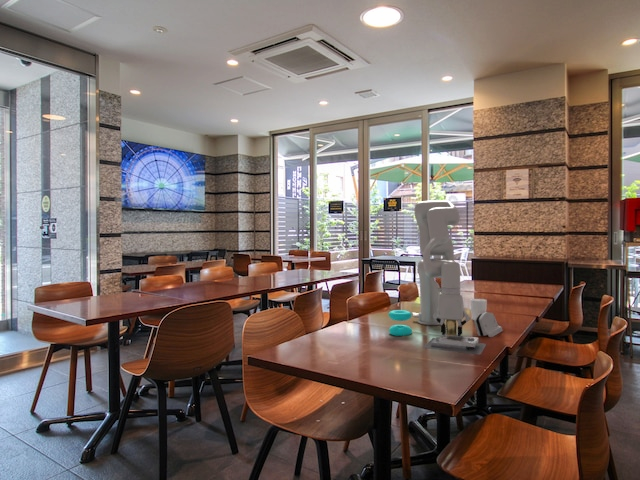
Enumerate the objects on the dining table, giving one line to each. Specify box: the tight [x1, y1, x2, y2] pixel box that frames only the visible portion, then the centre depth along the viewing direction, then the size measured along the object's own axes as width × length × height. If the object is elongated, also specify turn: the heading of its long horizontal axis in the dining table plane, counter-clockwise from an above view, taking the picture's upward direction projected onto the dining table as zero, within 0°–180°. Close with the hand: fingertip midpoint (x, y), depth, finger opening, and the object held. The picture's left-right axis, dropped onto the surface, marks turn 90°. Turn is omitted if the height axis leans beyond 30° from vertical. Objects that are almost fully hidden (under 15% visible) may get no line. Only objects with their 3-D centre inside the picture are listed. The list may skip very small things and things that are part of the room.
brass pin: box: [445, 319, 458, 336], centre depth 169 cm, size 4×4×10 cm
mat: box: [422, 337, 487, 356], centre depth 158 cm, size 21×16×1 cm
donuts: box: [388, 309, 413, 337], centre depth 180 cm, size 10×10×10 cm
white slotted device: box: [473, 311, 504, 338], centre depth 178 cm, size 17×5×10 cm, turn 138°
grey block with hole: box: [431, 333, 479, 350], centre depth 158 cm, size 16×9×4 cm, turn 60°
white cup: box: [469, 298, 488, 321], centre depth 206 cm, size 8×8×10 cm
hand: (451, 334), depth 169 cm, fingers open, 5 cm apart
